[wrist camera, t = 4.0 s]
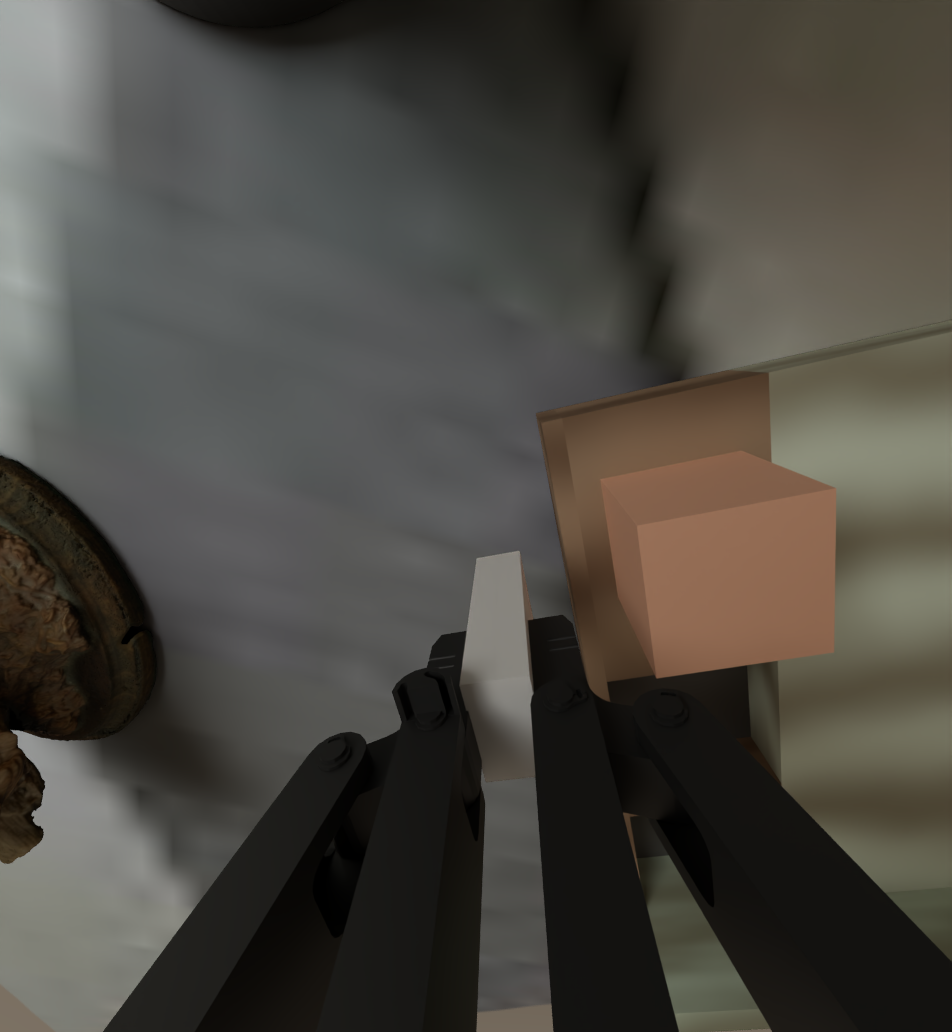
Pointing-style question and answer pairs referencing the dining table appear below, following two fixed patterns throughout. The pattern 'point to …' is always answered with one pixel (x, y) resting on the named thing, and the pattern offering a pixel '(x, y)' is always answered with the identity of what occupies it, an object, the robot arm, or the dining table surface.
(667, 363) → the dining table surface
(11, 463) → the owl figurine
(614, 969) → the robot arm
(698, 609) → the terracotta block
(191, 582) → the dining table surface
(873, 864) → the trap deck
